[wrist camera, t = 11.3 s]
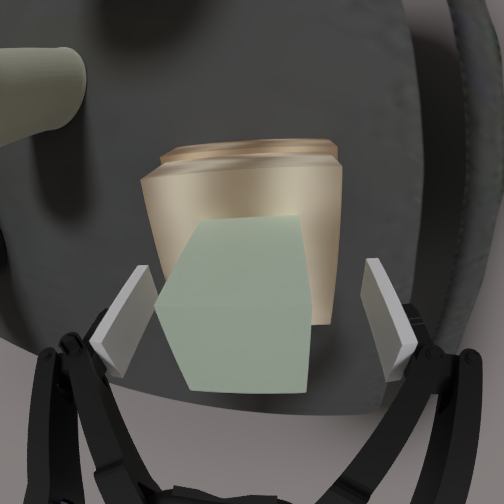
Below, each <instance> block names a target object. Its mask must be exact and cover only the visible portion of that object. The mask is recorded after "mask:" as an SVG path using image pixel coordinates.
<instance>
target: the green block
mask: <svg viewBox="0 0 504 504" xmlns="http://www.w3.org/2000/svg"><path fill="white" fill-rule="evenodd" d="M154 308H155V310H156V313H157V315H158V318H159V320H160V323H161V325H162V328H163V330H164V333H165V335H166V338H167V340H168V342H169V345H170V347H171V349H172V352H173V354H174V356H175V359H176V361H177V363H178V365H179V367H180V370H181V372H182V374H183V376H184V378H185V380H186V382H187V385H188V387H189V389H190V390H195V391H207V392H224V393H256V394H275V393H306V389H307V378H308V365H309V352H310V336H311V318H312V299H311V291H310V284H309V277H308V270H307V263H306V257H305V250H304V244H303V238H302V232H301V226H300V220H299V215H284V216H264V217H246V218H229V219H214V220H200V221H199V223H198V225H197V227H196V228H195V230H194V232H193V234H192V235H191V237H190V239H189V241H188V243H187V244H186V246H185V248H184V250H183V252H182V253H181V255H180V257H179V259H178V261H177V263H176V264H175V266H174V268H173V270H172V272H171V274H170V276H169V277H168V279H167V281H166V283H165V285H164V287H163V289H162V291H161V293H160V295H159V297H158V299H157V300H156V302H155V304H154Z"/></svg>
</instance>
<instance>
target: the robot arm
mask: <svg viewBox="0 0 504 504" xmlns="http://www.w3.org/2000/svg"><path fill="white" fill-rule="evenodd" d="M5 265H6V250H5V245H4V241H3V238H2V234H1V232H0V273H1V272H2V271H3V270H4V268H5ZM360 297H361V300H362V303H363V306H364V309H365V312H366V315H367V318H368V321H369V324H370V327H371V331H372V334H373V337H374V341H375V344H376V347H377V351H378V354H379V358H380V361H381V365H382V369H383V373H384V376H385V380H386V382H391V381H397V380H400V379H401V378H402V376H403V374H404V375H405V378H406V380H405V382H404V384H403V385H402V387H401V389H400V391H399V393H398V394H397V396H396V398H395V399H394V401H393V403H392V404H391V406H390V407H389V409H388V411H387V412H386V414H385V415H384V417H383V419H382V420H381V422H380V423H379V425H378V426H377V428H376V429H375V431H374V432H373V434H372V435H371V436H370V438H369V439H368V441H367V442H366V443H365V445H364V446H363V447H362V449H361V450H360V451H359V453H358V454H357V455H356V457H355V458H354V459H353V461H352V462H351V463H350V464H349V466H348V467H347V468H346V470H345V471H344V472H343V473H342V474H341V476H340V477H339V478H338V479H337V480H336V481H335V482H334V483H333V485H332V486H331V487H330V488H329V489H328V490H327V491H326V492H325V494H324V495H323V496H322V497H321V498H320V499H319V500H318V501H317V502H316V503H315V504H367V502H368V501H369V499H370V496H371V494H372V493H373V492H374V490H375V489H376V487H377V486H378V485H379V483H380V482H381V480H382V479H383V478H384V476H385V475H386V473H387V472H388V470H389V469H390V467H391V466H392V464H393V463H394V461H395V460H396V458H397V456H398V455H399V453H400V452H401V450H402V448H403V447H404V445H405V443H406V442H407V440H408V438H409V436H410V435H411V433H412V431H413V429H414V427H415V425H416V424H417V422H418V420H419V418H420V416H421V414H422V412H423V410H424V408H425V406H426V404H427V401H428V399H429V397H430V395H431V394H438V401H437V406H436V413H435V418H434V423H433V427H432V432H431V436H430V441H429V445H428V449H427V453H426V456H425V460H424V464H423V467H422V470H421V474H420V477H419V480H418V483H417V486H416V489H415V492H414V495H413V497H412V500H411V502H410V504H465V503H466V499H467V496H468V491H469V488H470V484H471V480H472V475H473V470H474V465H475V459H476V453H477V447H478V440H479V432H480V422H481V409H482V384H483V383H482V380H483V379H482V378H483V375H482V374H483V372H482V358H481V356H480V354H479V353H478V352H477V351H476V350H473V349H464V350H463V351H462V352H461V353H460V355H451V354H445V353H444V351H443V350H442V348H440V347H439V346H437V345H434V344H433V342H432V339H431V337H430V335H429V333H428V331H427V329H426V326H425V324H424V322H423V320H422V318H421V316H420V314H419V312H418V310H417V309H416V308H415V307H414V306H413V305H412V304H411V303H410V304H401V303H400V301H399V299H398V297H397V294H396V292H395V290H394V288H393V286H392V284H391V282H390V280H389V278H388V276H387V274H386V272H385V270H384V268H383V266H382V265H381V263H380V261H379V259H378V258H368V259H366V263H365V269H364V276H363V282H362V288H361V294H360ZM157 299H158V294H157V291H156V288H155V285H154V282H153V279H152V276H151V273H150V269H149V266H148V265H141V266H137V268H136V269H135V270H134V272H133V273H132V275H131V276H130V278H129V279H128V281H127V282H126V284H125V285H124V287H123V288H122V290H121V291H120V293H119V294H118V296H117V297H116V299H115V300H114V302H113V303H112V305H111V307H110V308H109V309H107V308H105V309H104V310H103V311H102V312H101V313H100V314H99V315H98V316H97V318H96V320H95V322H94V323H93V324H92V327H90V329H89V331H88V332H87V334H86V335H85V337H84V339H83V340H82V339H81V338H80V336H79V334H78V333H76V332H70V333H67V334H66V335H64V336H63V337H62V338H61V339H60V341H59V347H60V348H61V350H62V351H63V353H58V354H57V352H56V351H55V349H54V348H52V347H49V348H46V349H44V350H42V351H41V353H40V354H39V356H38V359H37V364H36V370H35V375H34V382H33V389H32V395H31V404H30V414H29V425H28V443H27V474H28V475H27V477H28V485H27V489H26V493H25V498H24V503H23V504H85V499H84V489H83V482H82V475H81V466H80V455H79V441H78V414H79V418H80V421H81V425H82V428H83V431H84V435H85V438H86V441H87V444H88V447H89V450H90V452H91V455H92V458H93V461H94V464H95V466H96V471H95V472H94V478H95V481H96V484H97V486H98V488H99V491H100V493H101V495H102V498H103V500H104V502H105V504H292V503H290V502H287V501H284V500H280V499H277V496H264V495H263V496H262V495H247V496H241V497H233V498H225V499H224V498H219V497H216V496H213V495H211V494H208V493H205V492H203V491H200V490H197V489H192V488H186V487H181V486H175V485H174V487H173V489H170V490H164V491H162V490H161V489H160V487H159V486H158V485H157V483H156V482H155V481H154V480H153V479H152V477H151V476H150V474H149V472H148V470H147V469H146V467H145V465H144V463H143V461H142V459H141V457H140V455H139V453H138V451H137V449H136V447H135V445H134V443H133V441H132V439H131V437H130V434H129V432H128V430H127V428H126V425H125V423H124V421H123V418H122V416H121V414H120V411H119V409H118V406H117V404H116V401H115V399H114V396H113V393H112V391H111V388H110V385H109V382H108V379H107V377H106V376H105V372H106V370H108V371H109V373H110V374H111V376H115V377H120V378H123V377H124V375H125V372H126V370H127V368H128V366H129V363H130V361H131V359H132V357H133V354H134V352H135V350H136V348H137V346H138V343H139V341H140V339H141V337H142V335H143V333H144V331H145V328H146V326H147V324H148V322H149V320H150V318H151V316H152V314H153V312H154V310H155V308H154V304H155V302H156V300H157ZM77 410H78V412H77Z"/></svg>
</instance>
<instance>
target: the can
mask: <svg viewBox="0 0 504 504" xmlns="http://www.w3.org/2000/svg"><path fill="white" fill-rule="evenodd" d="M86 83H87V75H86V68H85V64H84V62H83V60H82V58H81V56H80V55H79V54H78V53H77V52H76V51H75V50H73V49H71V48H67V47H60V48H3V49H0V147H2V146H5V145H7V144H9V143H12V142H15V141H17V140H20V139H23V138H26V137H28V136H31V135H34V134H37V133H40V132H44V131H47V130H55V129H59V128H61V127H63V126H64V125H66V124H67V123H68V122H69V121H70V120H71V119H72V118H73V117H74V116H75V114H76V113H77V111H78V110H79V108H80V106H81V103H82V101H83V98H84V95H85V90H86Z"/></svg>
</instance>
